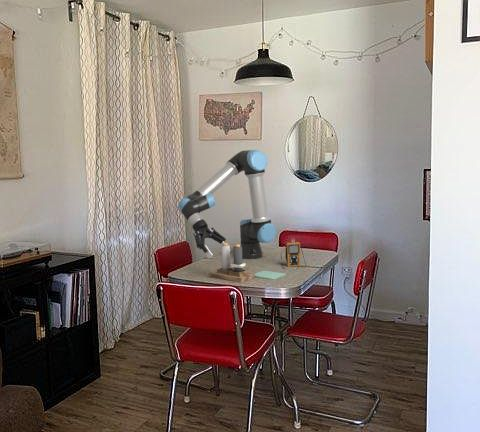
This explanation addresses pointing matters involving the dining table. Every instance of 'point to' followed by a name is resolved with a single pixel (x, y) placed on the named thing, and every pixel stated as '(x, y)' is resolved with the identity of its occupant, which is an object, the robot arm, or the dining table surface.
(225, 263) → the white tall cylinder
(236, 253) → the grey flanged cylinder
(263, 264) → the dining table surface
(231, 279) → the clamp board
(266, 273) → the green pad
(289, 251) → the multimeter
